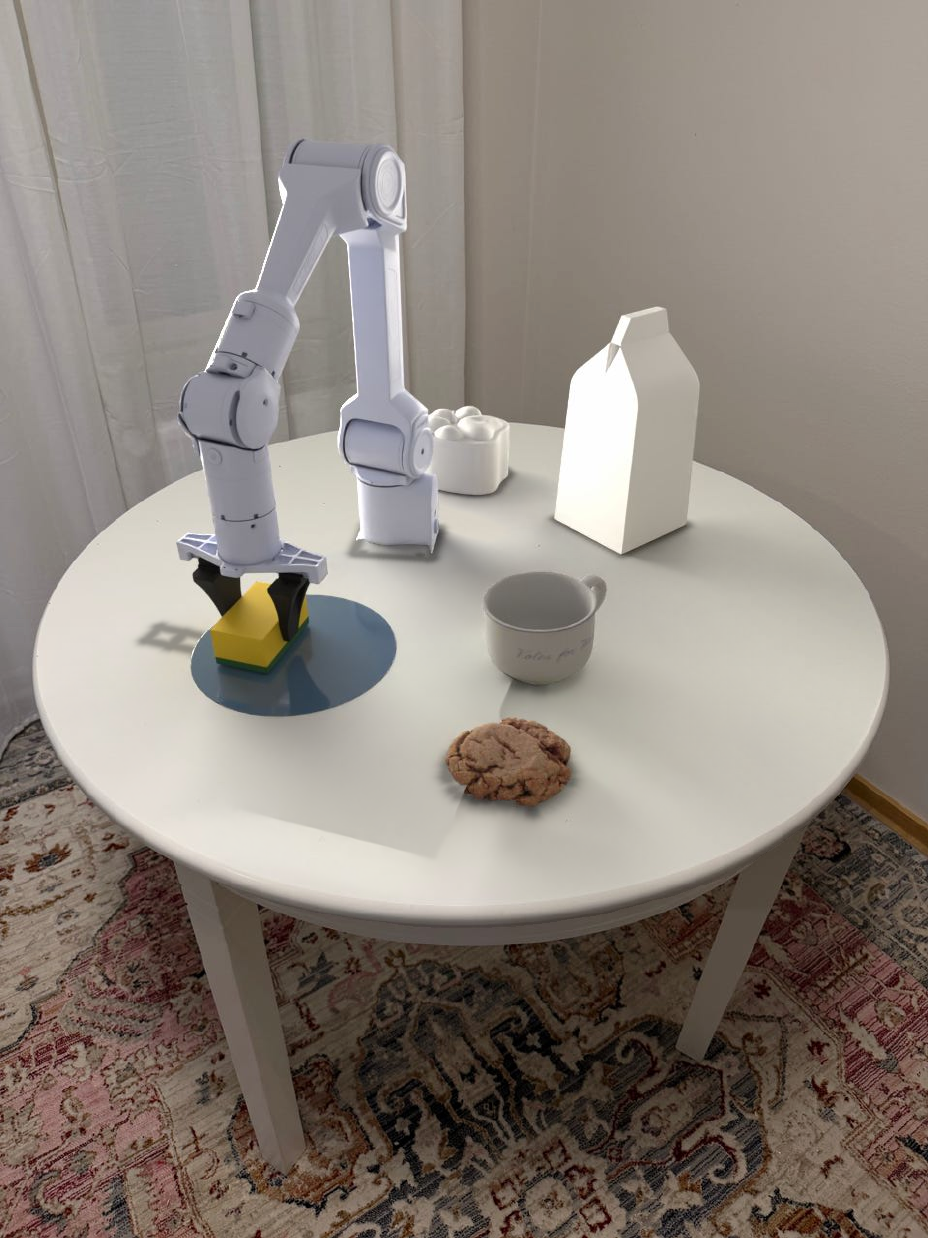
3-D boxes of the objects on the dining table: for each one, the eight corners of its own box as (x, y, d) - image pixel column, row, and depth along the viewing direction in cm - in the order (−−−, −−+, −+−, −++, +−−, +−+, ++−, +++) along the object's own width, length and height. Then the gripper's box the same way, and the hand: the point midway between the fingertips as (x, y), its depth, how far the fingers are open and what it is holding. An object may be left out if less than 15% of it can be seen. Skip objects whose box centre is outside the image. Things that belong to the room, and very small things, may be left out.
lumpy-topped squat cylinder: (488, 498, 116) (490, 437, 111) (399, 482, 120) (397, 422, 115) (514, 467, 124) (516, 409, 119) (429, 453, 128) (428, 396, 123)
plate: (411, 611, 95) (411, 600, 94) (376, 736, 78) (375, 724, 77) (231, 599, 96) (229, 588, 96) (160, 719, 80) (157, 707, 79)
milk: (621, 554, 105) (647, 334, 90) (554, 518, 112) (568, 310, 97) (686, 524, 111) (721, 314, 96) (619, 492, 118) (641, 292, 103)
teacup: (516, 712, 81) (519, 642, 76) (462, 650, 89) (462, 583, 84) (638, 670, 86) (649, 602, 82) (577, 614, 94) (583, 549, 90)
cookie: (430, 748, 77) (429, 722, 75) (539, 720, 80) (541, 694, 78) (471, 829, 69) (471, 803, 68) (591, 794, 72) (594, 768, 71)
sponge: (309, 622, 90) (305, 589, 88) (267, 674, 83) (262, 640, 81) (261, 613, 91) (256, 580, 89) (216, 663, 84) (209, 629, 82)
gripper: (147, 514, 77) (175, 639, 85) (296, 539, 74) (312, 667, 82) (191, 481, 83) (214, 601, 91) (331, 502, 79) (343, 626, 87)
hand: (262, 630), depth 86 cm, fingers closed on sponge, 5 cm apart
